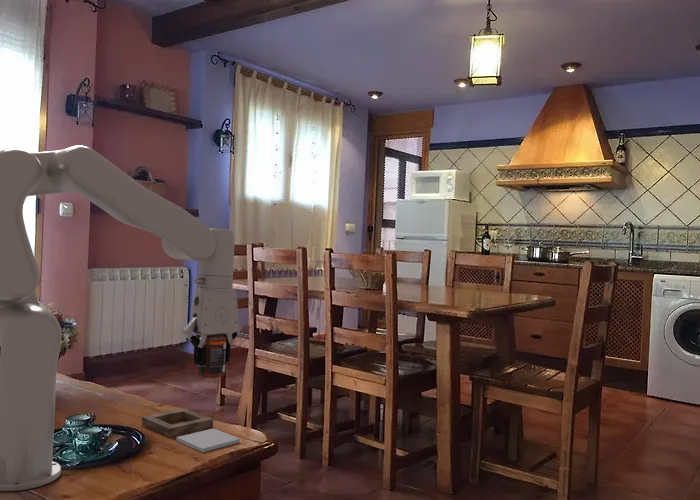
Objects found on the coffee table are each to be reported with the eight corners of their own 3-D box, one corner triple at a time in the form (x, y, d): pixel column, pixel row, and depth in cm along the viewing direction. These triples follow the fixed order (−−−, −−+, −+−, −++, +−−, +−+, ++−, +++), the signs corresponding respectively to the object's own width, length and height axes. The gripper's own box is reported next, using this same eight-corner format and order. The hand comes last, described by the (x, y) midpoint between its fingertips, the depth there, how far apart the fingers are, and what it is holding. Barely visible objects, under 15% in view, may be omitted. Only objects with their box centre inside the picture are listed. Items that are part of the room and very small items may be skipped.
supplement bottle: (230, 375, 132) (232, 326, 132) (211, 380, 127) (213, 328, 127) (211, 371, 136) (213, 323, 136) (191, 375, 131) (194, 325, 131)
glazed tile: (202, 452, 124) (202, 448, 124) (176, 440, 131) (176, 437, 131) (239, 442, 132) (239, 438, 132) (213, 431, 139) (213, 428, 139)
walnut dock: (168, 437, 133) (169, 428, 133) (141, 425, 141) (142, 416, 141) (212, 427, 142) (213, 418, 142) (184, 416, 150) (185, 408, 150)
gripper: (192, 285, 123) (188, 370, 123) (256, 283, 136) (252, 361, 136) (172, 282, 127) (168, 364, 127) (236, 281, 140) (232, 356, 141)
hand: (212, 362), depth 132 cm, fingers closed on supplement bottle, 6 cm apart
